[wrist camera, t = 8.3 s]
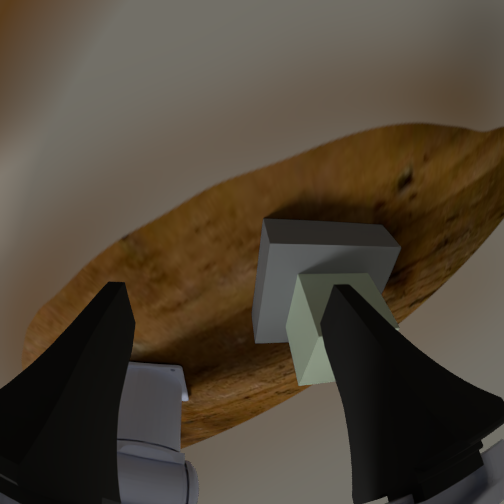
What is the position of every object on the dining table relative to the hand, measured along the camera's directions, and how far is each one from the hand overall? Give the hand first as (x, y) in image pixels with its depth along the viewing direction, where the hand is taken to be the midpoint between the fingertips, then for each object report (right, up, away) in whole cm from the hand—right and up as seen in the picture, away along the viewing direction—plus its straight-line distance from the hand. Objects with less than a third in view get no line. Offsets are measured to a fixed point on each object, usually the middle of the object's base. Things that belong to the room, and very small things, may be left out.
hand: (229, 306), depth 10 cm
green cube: (+6, -2, +10) cm, 11 cm away
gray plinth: (+6, 0, +12) cm, 13 cm away
